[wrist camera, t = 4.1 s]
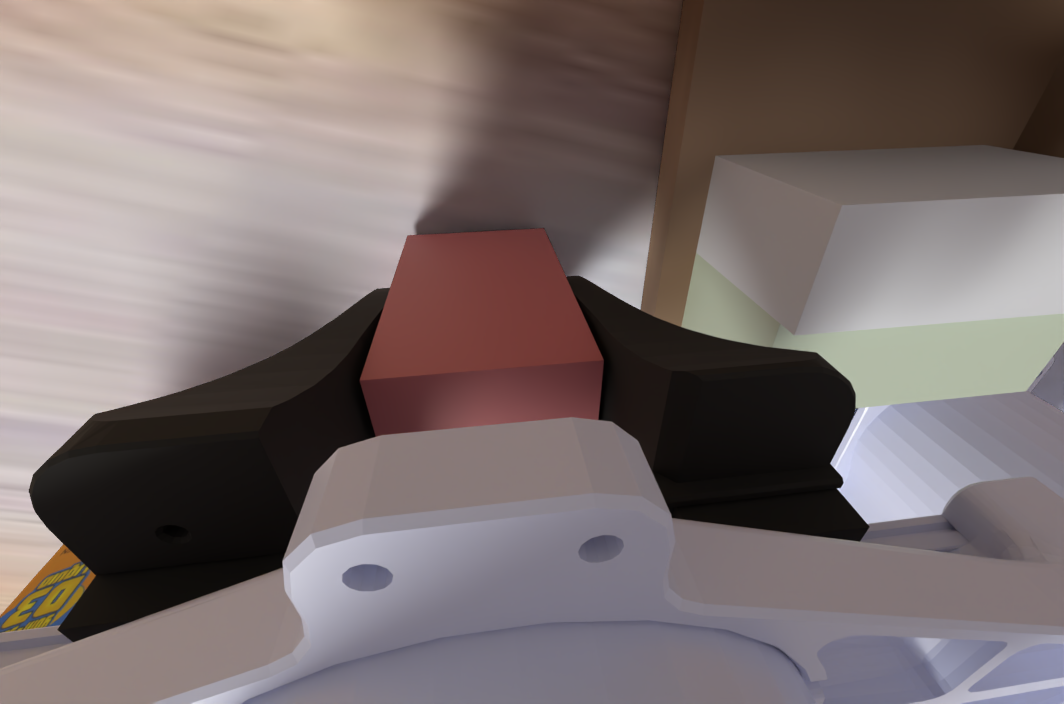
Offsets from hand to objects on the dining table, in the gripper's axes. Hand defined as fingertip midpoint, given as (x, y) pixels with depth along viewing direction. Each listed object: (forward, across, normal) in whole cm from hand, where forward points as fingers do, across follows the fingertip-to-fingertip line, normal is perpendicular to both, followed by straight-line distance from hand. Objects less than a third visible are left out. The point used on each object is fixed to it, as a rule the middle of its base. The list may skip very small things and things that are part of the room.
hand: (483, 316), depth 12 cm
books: (+2, -11, -1) cm, 11 cm away
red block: (+2, 0, 0) cm, 2 cm away
